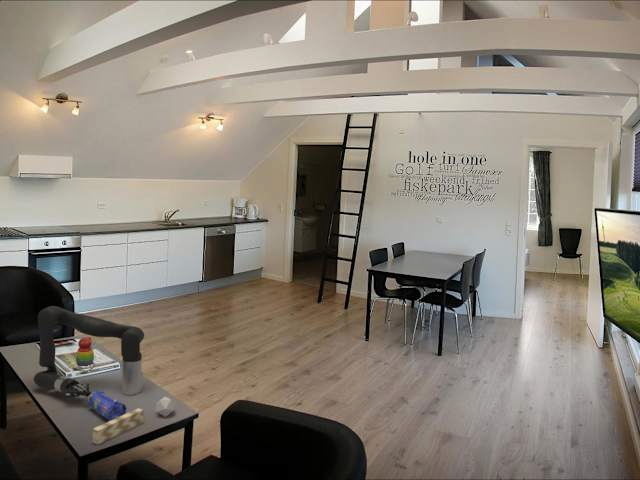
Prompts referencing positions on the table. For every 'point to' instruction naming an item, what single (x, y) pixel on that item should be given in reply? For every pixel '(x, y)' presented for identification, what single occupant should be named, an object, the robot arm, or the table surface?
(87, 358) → the stacking bear
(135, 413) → the birch board
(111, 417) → the pencil case
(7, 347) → the table surface
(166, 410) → the die
